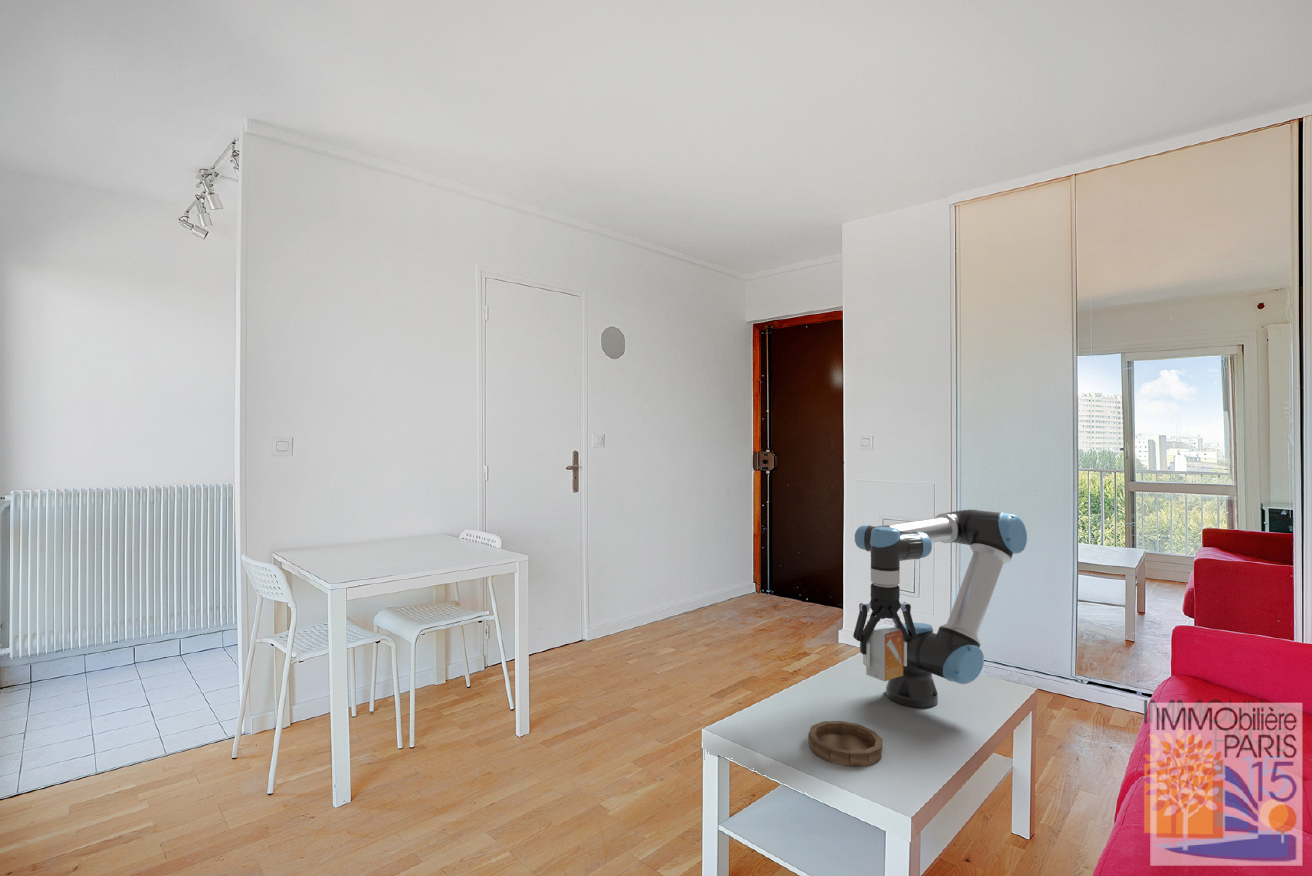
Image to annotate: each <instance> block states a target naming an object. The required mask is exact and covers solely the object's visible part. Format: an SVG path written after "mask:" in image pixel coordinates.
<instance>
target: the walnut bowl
mask: <svg viewBox="0 0 1312 876" xmlns="http://www.w3.org/2000/svg"><path fill="white" fill-rule="evenodd" d="M807 737H808V739H807V741H808V744H809V749H810V750H811V752H812V753H813V754H814V755H816V756H817V757H818V758H820V759H821V760H824V761H825V762H828V763H831V764H835V765H838V766H843V767H849V768H850V767H852V768H862V767H869V766H873V765H875V764H877V763H879V762H880V761H881V759H882V754H883V742H884V741H883V739H882V737H881V736H880V735H879V734H878V733H877V732H876V731H875V730H873V729H870V728H868V727H866V726H864V725H861V724H858V723H854V722H849V721H844V720H828V721H827V720H826V721H821V722H818V723H816V724H813V725H811V726H810V729H809V731H808V736H807Z"/></svg>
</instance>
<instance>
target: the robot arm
mask: <svg viewBox="0 0 1312 876" xmlns="http://www.w3.org/2000/svg"><path fill="white" fill-rule="evenodd" d="M1027 533H1028V531H1027V529H1026V525H1025V523H1024V521H1023V520H1022V519H1021V518H1020V517H1019V516H1017V515H1016V514H1011V513H1006V512H1005V511H1003V512H1002V511H1001V512H997V511H988V510H987V511H985V510H980V509H979V510H977V509H962V510H954V511H950V512H944V513H939V514H937V515H935V517H933V518H932V517H931V518H925V519H917V520H913V521H906V522H900V523H899V522H898V523H891V524H886V525H878V526H876V525H875V526H873V525H861V526H860V525H859V527H858V528H857V529H856V531H855V533H854V543H855V545H856V547H858V548H859V549H860V550H862V551H863V550H864V551H866V552H870V582H871V584H870V601H869V603H863V602H861V603H859V607H858V608H859V612H858V616H857V620H856V624H855V628H854V631H853V636H852V637H853V638H854V639H855V640H856V641H857V642H860V643H859V652H860V653H861V654H862V658H863V660H862V664H863V665H864V666H865V667H870V643H869V642H867V641H868V639H869V637H870V636H871V634H872V632H873V630H874V628H875V626H877V625H878V623H879V622H880V620H885V619H890V620H892V621H893V623H894V626H895V627H897V628H899V629H900V630H901V631H902V634H903V676H900V677H897V678H894V679H891V680H888V681H887V684H886V686H885V687H886V688H885V696H886V697H887V698H888V699H889V700H891V701H892V702H895V703H896V704H899V705H902V706H905V707H912V708H921V709H922V708H924V709H925V708H931V707H935V706H936V705H937V704H938V703H939V694H938V690H937V687H936V684H935V680H934V678H933V675H935V676H938V677H940V678H943V679H945V680H947V681H949V682H952V683H955V684H959V685H967V684H970V683H972V682H973V681H975V680H976V679H977V678H978V677H979V675H980V674H981V673H982V670H983V667H984V663H985V660H984V658H985V657H984V653H983V651H982V649H981V648H980V647H981V641H980V639H979V638H978V635H979V632H980V630H981V627H982V624H983V621H984V618H985V616H986V612H987V609H988V607H989V604H990V601H991V599H992V596H993V594H994V591H995V587H996V586H997V582H998V579H999V576H1000V575H1001V570H1002V568H1003V567H1004V566H1003V565H1004V564H1007V563H1010V562H1011V560H1012V557H1013V554H1015V555H1017V554H1021V553H1022V552H1023V551H1024V550H1025V548H1026V546H1027V542H1028V534H1027ZM938 542H941V543H943V544H952V543H954V544H961V545H967V546H969V547H970V549H971V552H972V555H971V558H970V561H969V563H968V566H967V568H966V572H965V574H964V577H963V579H962V582H961V584H960V587H959V590H958V593H957V595H956V598H955V601H954V603H953V607H952V609H951V611H950V614H949V617H948V619H947V622H946V623H945V624H943V625H940V626H939V628H938V629H937V632H936V633H935V632H934V627H933V626H932V625H931V624H930V623H929V624H928V623H924V622H913V618H912V617H913V616H912V613H911V611H912V605H911V604H910V603H908V602H906V601H903V602H901V601H900V598H901V596H900V595H901V594H900V591H901V590H900V585H899V584H900V581H901V580H900V578H901V577H900V570H901V568H900V565H901V563H900V562H901V561H902V562H903V561H908V560H909V561H910V560H920V559H922V558H926V557H928V556H929V555H930V554H931V552H932V548H933V543H938ZM870 609H871V614H870V615H869V619H868V620H867V618H868V613H869V612H870ZM899 610H901V611H902V616H903V619H904V622H902V620H901V618H900V616H899V614H898V612H899ZM866 621H867V622H866Z"/></svg>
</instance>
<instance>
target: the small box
mask: <svg viewBox="0 0 1312 876" xmlns="http://www.w3.org/2000/svg"><path fill="white" fill-rule="evenodd" d="M867 642H869V643H870V667H866V666H865V667H866V669H865V670H866V673H865V674H866V675H867V676H869V677H871V678H874V679H876V680H880V681H882V682H888V681H889V680H891V679H894V678H897V677H900V676H903V634H902V631H901V630H900V629H899V628H897V627H895V625H891V624H887V623H883V624H876V626H875V628H874V630H873V632H872V634H871V636H870V637H869V639H868V641H867Z"/></svg>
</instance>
